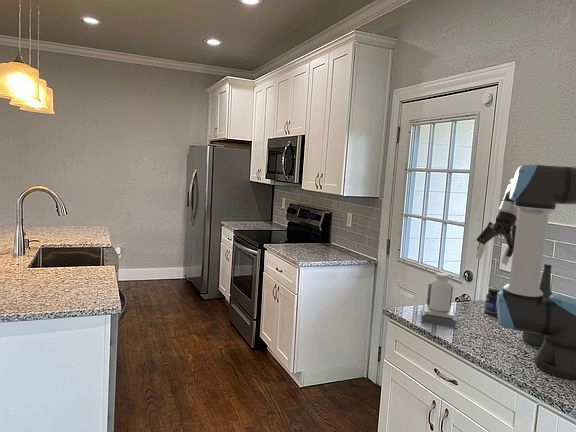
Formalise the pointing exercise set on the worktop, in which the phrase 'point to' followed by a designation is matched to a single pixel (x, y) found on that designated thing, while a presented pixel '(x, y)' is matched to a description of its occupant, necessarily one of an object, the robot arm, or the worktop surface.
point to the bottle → (546, 289)
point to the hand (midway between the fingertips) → (490, 260)
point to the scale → (437, 319)
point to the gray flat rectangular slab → (438, 312)
